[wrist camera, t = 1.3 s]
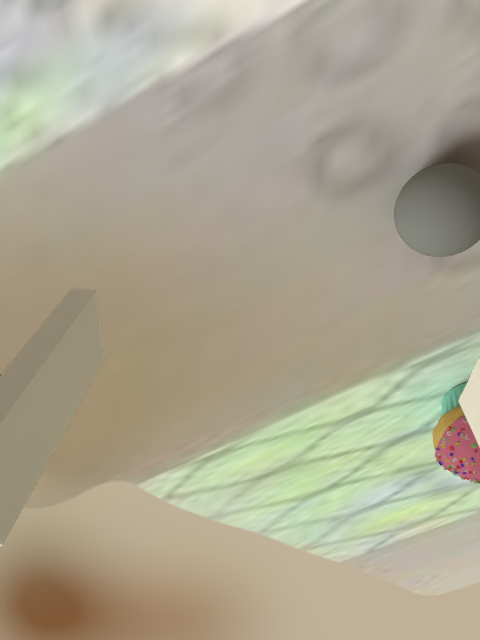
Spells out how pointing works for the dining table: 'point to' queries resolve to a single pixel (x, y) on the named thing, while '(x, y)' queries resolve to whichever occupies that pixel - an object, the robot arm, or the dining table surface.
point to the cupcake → (456, 439)
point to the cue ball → (440, 210)
